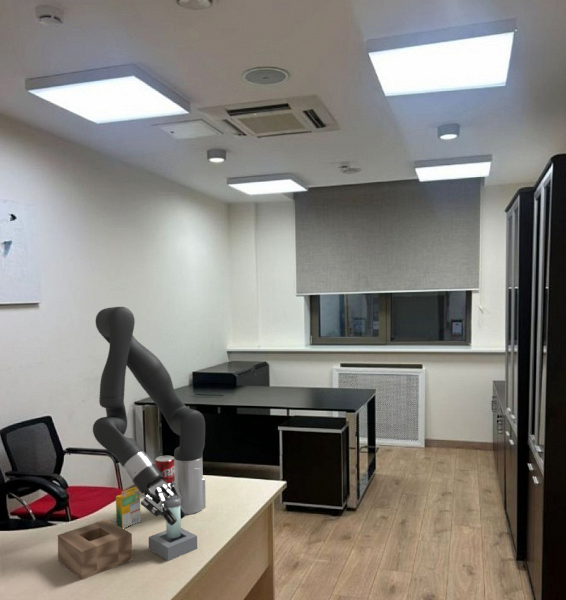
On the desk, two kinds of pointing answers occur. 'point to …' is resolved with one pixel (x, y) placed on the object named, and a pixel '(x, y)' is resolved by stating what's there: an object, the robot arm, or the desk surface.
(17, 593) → the desk surface
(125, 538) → the port block
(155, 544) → the grey hollow square block
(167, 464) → the soda can
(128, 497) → the crayon box
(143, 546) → the desk surface
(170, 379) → the robot arm
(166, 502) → the plug
